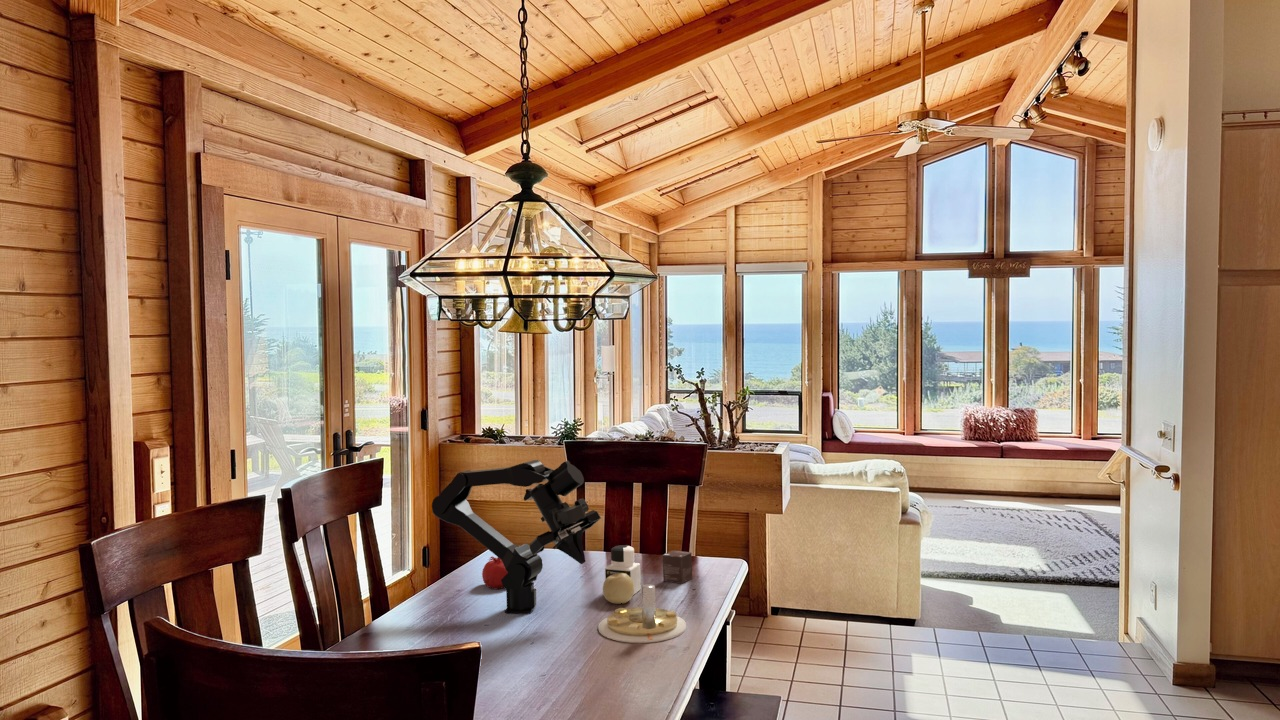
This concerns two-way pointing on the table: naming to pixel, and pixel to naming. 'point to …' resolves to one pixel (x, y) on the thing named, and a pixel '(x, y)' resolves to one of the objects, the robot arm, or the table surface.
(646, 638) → the base plate
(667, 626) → the brass lugged disc
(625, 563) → the medicine bottle
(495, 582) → the pomegranate
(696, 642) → the table surface
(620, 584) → the apple
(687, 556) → the box
